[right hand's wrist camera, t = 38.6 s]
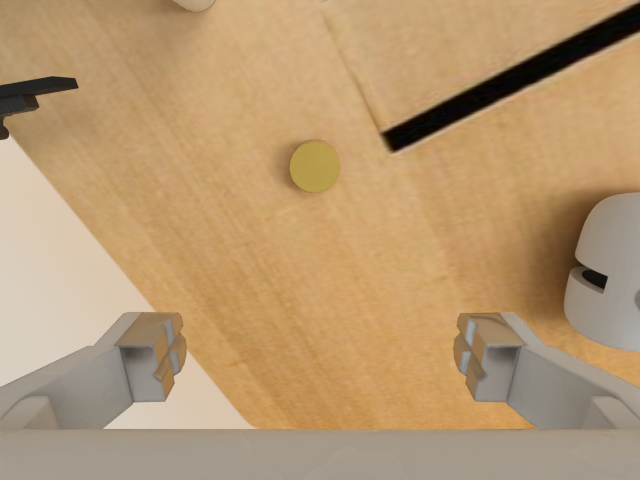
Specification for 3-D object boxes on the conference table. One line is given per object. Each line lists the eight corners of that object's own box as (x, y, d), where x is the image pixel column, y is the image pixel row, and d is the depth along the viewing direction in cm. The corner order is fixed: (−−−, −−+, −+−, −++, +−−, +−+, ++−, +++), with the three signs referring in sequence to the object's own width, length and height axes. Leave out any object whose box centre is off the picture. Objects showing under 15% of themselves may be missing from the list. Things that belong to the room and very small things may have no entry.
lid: (345, 176, 38) (347, 181, 36) (302, 194, 39) (301, 200, 36) (327, 131, 36) (328, 134, 34) (283, 151, 37) (281, 154, 35)
